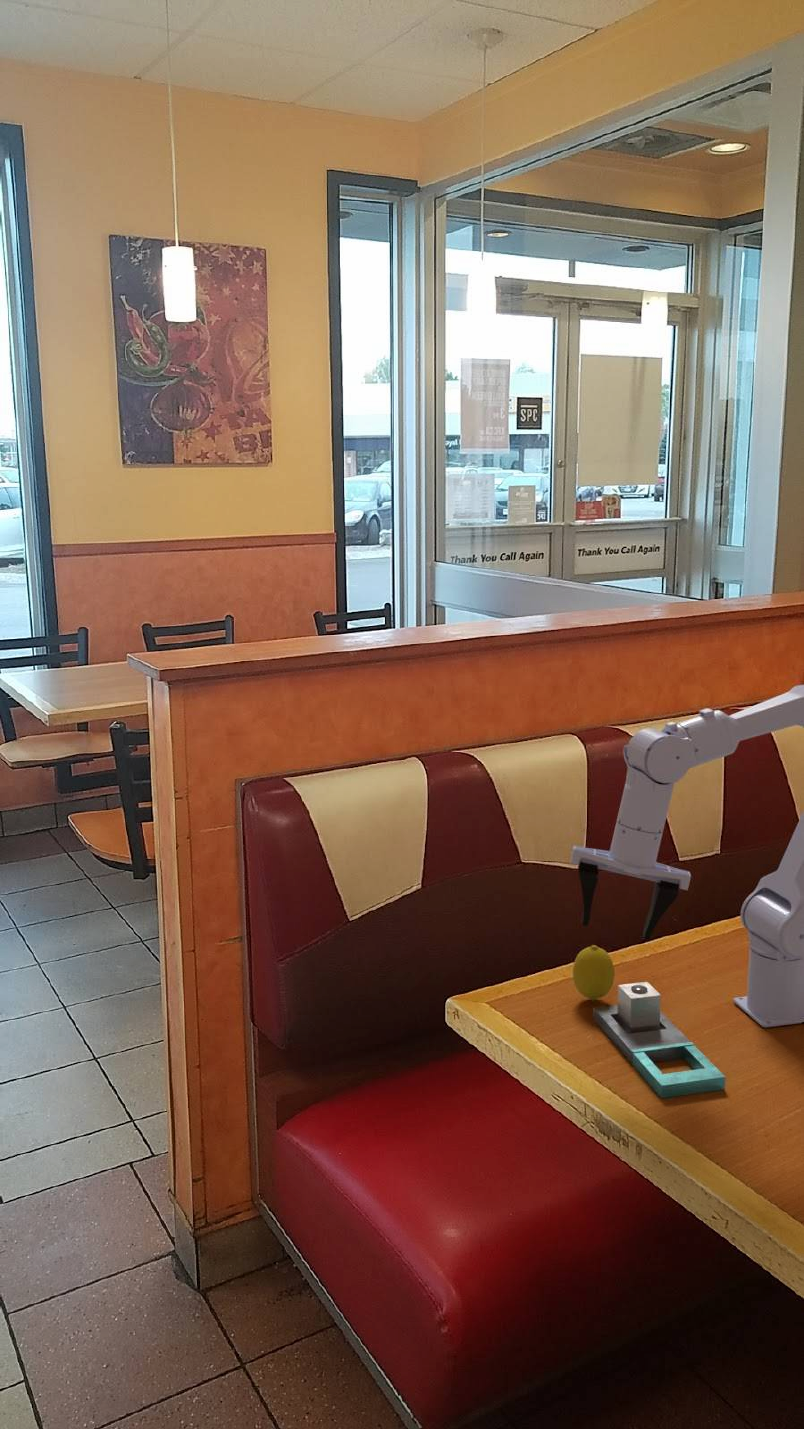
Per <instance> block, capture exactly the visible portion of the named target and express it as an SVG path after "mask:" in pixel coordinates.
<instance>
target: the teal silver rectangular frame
mask: <svg viewBox="0 0 804 1429" xmlns="http://www.w3.org/2000/svg"><path fill="white" fill-rule="evenodd" d="M617 1006H618V1004H615V1005H605V1006H596V1007H593V1012H592V1014H593V1016H592V1017H593V1020H594V1022H596V1024H597V1026H599V1028H600V1029H601V1030H602V1031H603V1032H604V1034H605V1035H607V1037H608V1038H609V1040H611V1042H612V1043H613V1044H614V1045H615V1046H616V1047H617V1049H618V1050H619V1051H620V1052H621V1053H622V1054H623V1055H624V1056H625V1058H626V1059H627V1060H628V1062H629V1063H630V1064H631V1065H632V1066H633V1067H634V1069H635V1070H636V1071H637V1073H638V1074H639V1075H641V1076H642V1077H643V1079H644V1081H645V1082H646V1083H647V1084H648V1085H649V1086H650V1087H651V1088H652V1089H653V1091H654V1092H655V1093H656V1094H657V1095H658V1097H659V1098H660V1099H667V1098H674V1097H680V1096H687V1095H694V1094H701V1093H708V1092H709V1093H710V1092H715V1091H723V1090H725V1089H726V1075H724V1074H723V1073H722V1072H721V1071H720V1070H719V1069H718V1067H716V1065H714V1064H713V1063H712V1062H711V1061H710V1059H709V1058H708V1057H707V1056H706V1055H705V1054H704V1053H703V1052H702V1051H700V1050H699V1049H698V1047H696V1045H695V1044H694V1042H692V1041H691V1040H690V1039H689V1038H687V1036H686V1035H684V1033H683V1032H682V1031H681V1030H679V1028H677V1026H676V1025H674V1023H673V1022H672V1021H671V1020H670V1019H669V1018H668V1017H667V1016H666V1015H665V1014H664V1013H663V1012H662V1011H661V1010H660V1030H655V1031H647V1032H639V1033H631V1034H627V1033H626V1032H625V1031H624V1030H623V1029H622V1027H621V1026H620V1025H619V1024H618V1023H617ZM681 1059H682V1060H685V1062H687V1064H689V1066H690V1067H691V1068H692V1069H689V1070H684V1071H683V1070H682V1071H676V1072H668V1073H662V1071H661V1070H660V1069H659V1067H657V1065H655V1063H661V1062H667V1061H673V1060H681Z"/></svg>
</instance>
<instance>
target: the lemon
mask: <svg viewBox="0 0 804 1429" xmlns="http://www.w3.org/2000/svg"><path fill="white" fill-rule="evenodd" d="M573 963H574V964H573V968H572V978H573V979H572V980H573V983H574V986H575V988H576V989H577V991H578V992H579V993H580V994H581V995H582V996H583V997H585V998H588V999H589V1000H590V1001H591V1002H595V1001H597V1000H598V999H601V998H603V997H605V996H606V995H607V994H608V993H609V992H610V991H611V989H612V987H613V985H614V981H615V966H614V962H613V959H612V957H611V956H610V954H609V953H608V952H607V951H606V950H605V949H604V948H600V947H598V946H597V945H595V944H592V945H591V946H587V947H586V948H584V949H582V950H580V952H579V953H577V955H576V957H575V960H574V962H573Z"/></svg>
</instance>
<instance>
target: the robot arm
mask: <svg viewBox="0 0 804 1429" xmlns="http://www.w3.org/2000/svg"><path fill="white" fill-rule="evenodd" d="M698 714H699V715H698V716H695V717H692V718H690V719H689V718H688V719H686V720H683V721H680V722H674V721H670V722H667V723H665V724H664V727H663V728H662V729H661V730H659V729H656V728H653V727H647V728H646V727H645V728H643V729H640V730H639V731H637V732H636V733H634V735H633V736H632V737H630V740H629V742H628V744H626V745H624V746H623V750H622V754H623V758H624V761H625V762H624V763H625V764H626V766H627V768H626V769H627V771H626V776H625V779H626V780H625V782H624V787H623V792H622V796H621V801H620V805H619V808H618V809H619V810H618V813H617V818H616V822H615V826H614V831H613V834H612V840H611V844H610V849H609V850H605V849H604V850H603V849H597V848H589V847H583V846H578V845H573V847H572V851H571V856H570V864H572V865H575V866H578V867H577V868H578V869H577V870H578V876H579V881H580V887H581V893H582V899H583V900H582V901H583V902H582V903H583V904H582V907H583V908H582V918H581V924H582V926H585V927H588V926H589V922H590V918H591V910H592V905H593V900H594V897H595V892H596V889H597V888H596V887H597V885H598V884H597V883H598V880H599V870H603V871H606V872H612V873H616V874H621V875H625V876H629V877H634V878H638V879H643V880H646V881H651V882H654V885H653V892H652V897H651V902H650V906H649V911H648V914H647V917H646V919H645V923H644V927H643V931H642V937H643V938H642V939H643V940H645V941H647V942H648V941H650V939H651V938H652V934H653V933H654V931H655V929H656V926H657V925H658V923H659V921H660V919H662V917H663V915H665V912H667V910H668V908H670V906H671V905H673V903H674V902H675V901H676V900H677V898H679V895H680V891H679V889H680V890H685V891H688V890H689V886H690V883H691V878H692V875H691V872H690V871H688V870H684V869H680V868H676V867H673V866H671V865H670V866H669V865H667V864H663V863H660V862H658V861H657V859H658V855H659V854H658V853H659V851H660V846H661V841H662V836H663V833H664V829H665V823H666V820H667V816H668V811H669V808H670V804H671V799H672V794H673V791H674V786H675V784H676V783H677V782H679V781H681V779H683V778H684V776H686V774H687V772H688V771H689V770H690V769H692V768H695V767H697V766H700V765H704V764H706V763H709V762H713V761H714V760H718V759H720V758H721V759H722V758H724V757H727V756H729V755H732V754H734V753H735V751H736V750H737V748H738V745H739V743H740V742H741V741H744V740H749V739H752V738H755V737H759V736H762V735H766V734H769V733H773V732H776V731H780V730H785V729H787V728H790V727H794V726H795V727H796V726H798V727H799V726H800V727H802V728H803V729H804V684H801V685H800V684H799V685H795V686H793V687H792V688H790V690H788V691H787V692H784V693H782V694H780V695H777V696H774V697H772V698H770V699H767V700H765V701H762V702H760V703H758V704H755V705H752V706H750V707H747V708H745V709H743V710H740V711H738V712H735V713H733V714H732V713H731V714H730V715H728V714H727V713H725V712H723V711H721V710H718V709H717V710H716V709H715V710H713V709H712V708H703V709H701V710H699V711H698ZM783 854H784V855H783V856H782V859H781V861H780V864H779V866H778V868H777V870H775V871H773V872H772V873H769V874H767V875H764V876H762V877H761V878H760V880H759V881H758V884H757V886H756V888H755V889H754V891H753V892H751V893H750V894H749V895H748V896H747V897H746V898H745V900H744V901H743V903H742V906H741V909H740V921H741V923H742V926H743V927H744V928H745V930H747V931H748V941H749V951H748V952H749V957H748V970H747V971H748V974H747V991H746V996H739V997H734V998H733V1002H734V1003H735V1005H737V1007H739V1008H740V1009H742V1011H744V1012H745V1013H746V1015H747V1014H748V1016H750V1017H751V1018H752V1019H753V1020H754V1021H755V1022H756V1023H758V1024H759V1025H760V1026H761V1027H763V1028H770V1027H771V1028H772V1027H779V1026H786V1025H787V1026H789V1025H795V1024H802V1022H804V810H803V811H802V814H801V816H800V819H799V821H798V822H797V825H796V827H795V829H794V832H793V834H792V836H791V839H790V841H789V843H788V846H787V848H786V850H785V852H784V853H783Z"/></svg>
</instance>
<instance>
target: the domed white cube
mask: <svg viewBox="0 0 804 1429" xmlns="http://www.w3.org/2000/svg"><path fill="white" fill-rule="evenodd" d="M661 996H662V995H661V994H660V993H659V992H658V990H657V989H655V988H654V987H653V986H652V985H651V984H650V983H649V982H648V981H642V982H641V981H640V982H634V983H624V984H618V985H617V1005H618V1006H617V1023H618V1024H619V1025H620V1026H621V1027H622V1029H623V1030H624V1031H625V1032H626V1033H627V1034H631V1033H639V1032H647V1031H655V1030H660V1011H661V1002H662V1001H661V1000H662V997H661Z"/></svg>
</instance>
